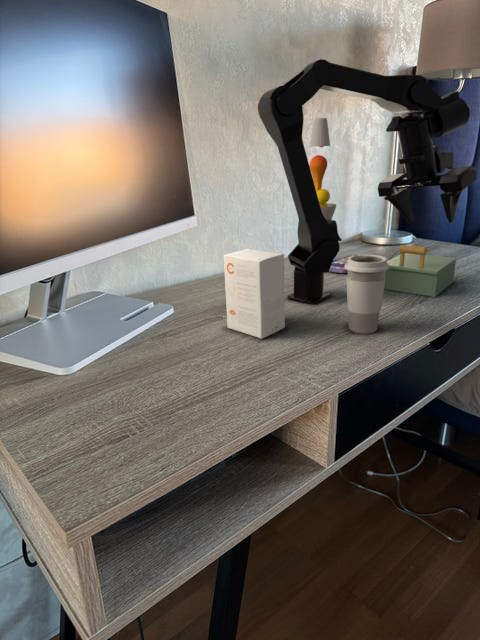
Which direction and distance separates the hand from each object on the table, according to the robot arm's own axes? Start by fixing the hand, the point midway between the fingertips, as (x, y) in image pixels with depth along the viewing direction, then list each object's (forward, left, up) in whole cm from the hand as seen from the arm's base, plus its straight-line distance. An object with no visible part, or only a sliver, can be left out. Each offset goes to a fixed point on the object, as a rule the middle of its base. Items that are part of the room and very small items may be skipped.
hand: (430, 221), depth 93 cm
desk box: (-2, +1, -13) cm, 13 cm away
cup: (-31, 0, -13) cm, 34 cm away
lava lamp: (+4, +29, -13) cm, 32 cm away
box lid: (-3, +1, -8) cm, 9 cm away
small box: (-41, +15, -13) cm, 46 cm away
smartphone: (+5, +21, -13) cm, 25 cm away
